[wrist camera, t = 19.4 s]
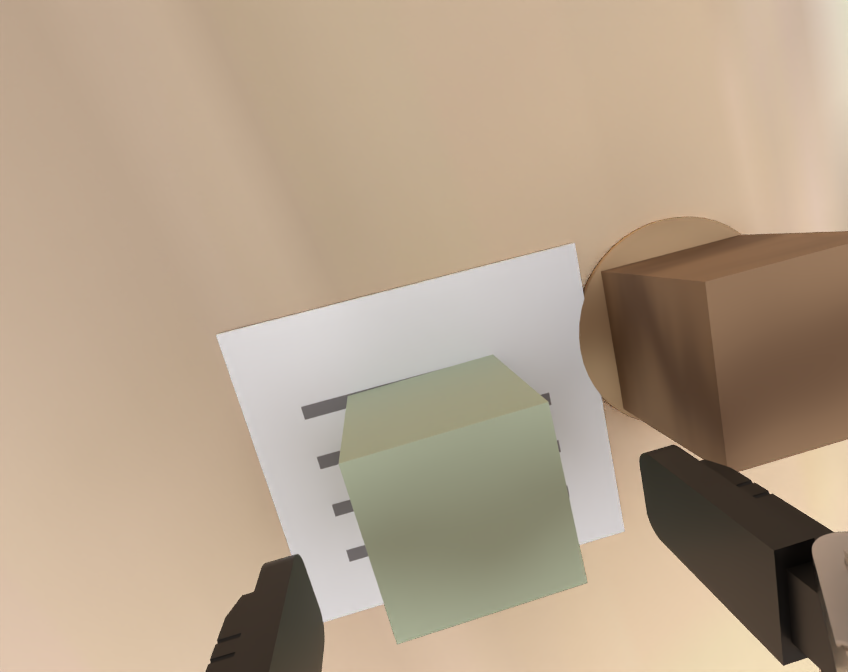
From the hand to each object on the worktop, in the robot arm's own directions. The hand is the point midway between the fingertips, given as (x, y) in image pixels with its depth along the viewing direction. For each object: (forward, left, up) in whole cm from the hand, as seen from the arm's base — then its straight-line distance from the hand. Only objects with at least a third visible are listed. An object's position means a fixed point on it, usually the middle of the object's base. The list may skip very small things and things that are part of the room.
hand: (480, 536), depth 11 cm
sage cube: (+1, 0, -7) cm, 7 cm away
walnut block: (-1, +10, -7) cm, 12 cm away
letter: (+1, 0, -7) cm, 7 cm away
